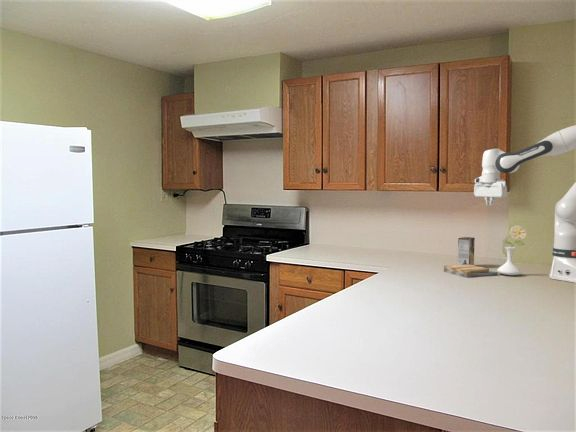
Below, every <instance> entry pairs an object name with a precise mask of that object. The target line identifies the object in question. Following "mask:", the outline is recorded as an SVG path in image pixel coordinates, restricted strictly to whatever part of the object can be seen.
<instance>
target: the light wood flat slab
mask: <svg viewBox="0 0 576 432" xmlns="http://www.w3.org/2000/svg"><path fill="white" fill-rule="evenodd" d="M450 266H451V267H455V268H460V269H464V270H468V271H470V274H472V273H482V272H489V270H490V269H489V268H486V267H482V266H477V265H475V264H474V265H470V264H464V265H458V264H457V265H456V264H455V265H450Z"/></svg>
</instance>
